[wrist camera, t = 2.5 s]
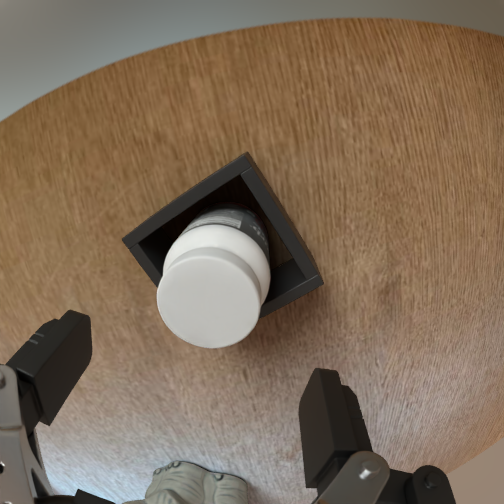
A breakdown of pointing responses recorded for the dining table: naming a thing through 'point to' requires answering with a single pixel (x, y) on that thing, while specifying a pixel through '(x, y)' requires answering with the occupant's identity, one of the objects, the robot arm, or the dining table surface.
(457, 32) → the dining table surface
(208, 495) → the elephant cookie jar
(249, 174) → the holder
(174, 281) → the pill bottle
